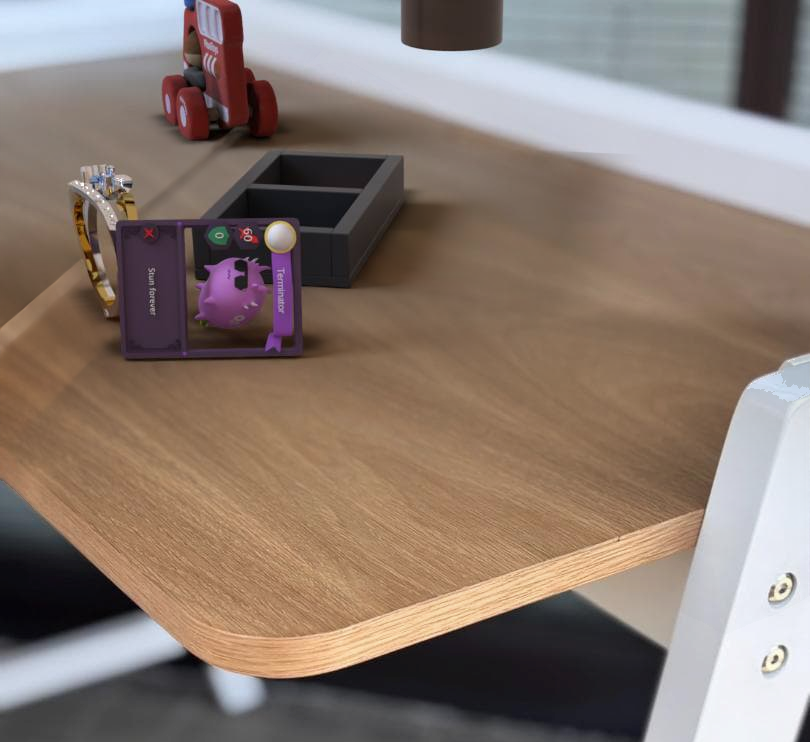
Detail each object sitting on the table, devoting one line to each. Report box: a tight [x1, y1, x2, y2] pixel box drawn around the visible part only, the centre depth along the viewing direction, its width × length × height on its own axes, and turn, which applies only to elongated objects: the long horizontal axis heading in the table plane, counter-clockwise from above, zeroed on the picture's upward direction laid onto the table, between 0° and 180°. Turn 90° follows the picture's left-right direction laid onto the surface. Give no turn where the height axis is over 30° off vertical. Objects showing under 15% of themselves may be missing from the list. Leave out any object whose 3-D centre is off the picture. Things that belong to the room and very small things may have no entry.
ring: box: [66, 163, 139, 319], centre depth 78 cm, size 7×3×8 cm, turn 24°
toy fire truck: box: [161, 0, 279, 141], centre depth 113 cm, size 7×12×10 cm, turn 22°
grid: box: [191, 149, 405, 289], centre depth 91 cm, size 9×17×3 cm, turn 170°
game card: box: [116, 218, 304, 359], centre depth 76 cm, size 7×5×9 cm
